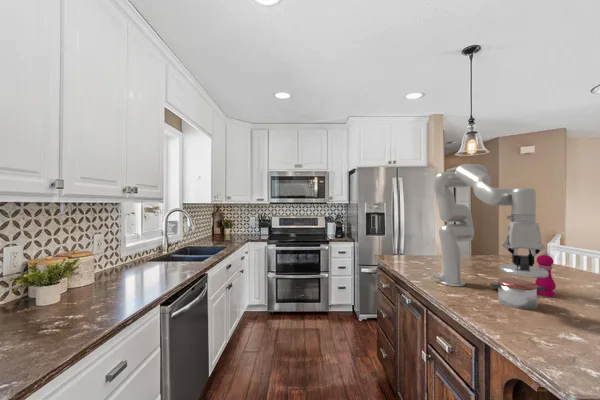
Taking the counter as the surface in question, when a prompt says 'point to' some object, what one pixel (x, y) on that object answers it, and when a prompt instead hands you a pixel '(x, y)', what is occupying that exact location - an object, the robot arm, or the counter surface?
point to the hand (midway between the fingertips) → (523, 264)
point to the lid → (524, 269)
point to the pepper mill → (546, 282)
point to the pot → (517, 293)
